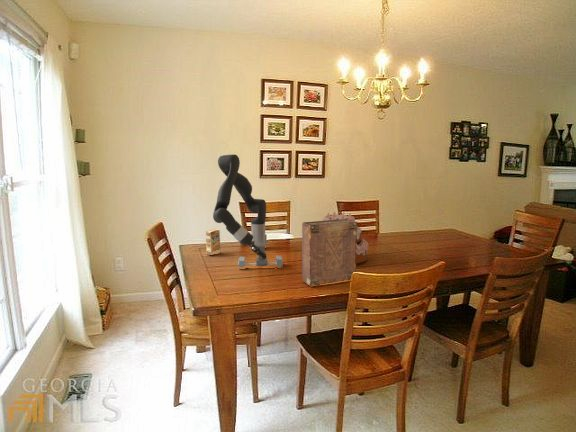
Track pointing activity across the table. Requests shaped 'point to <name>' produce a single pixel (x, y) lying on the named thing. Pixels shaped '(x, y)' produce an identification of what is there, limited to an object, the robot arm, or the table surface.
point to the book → (328, 251)
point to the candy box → (213, 240)
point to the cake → (361, 243)
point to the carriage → (260, 260)
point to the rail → (242, 263)
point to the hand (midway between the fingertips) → (265, 256)
